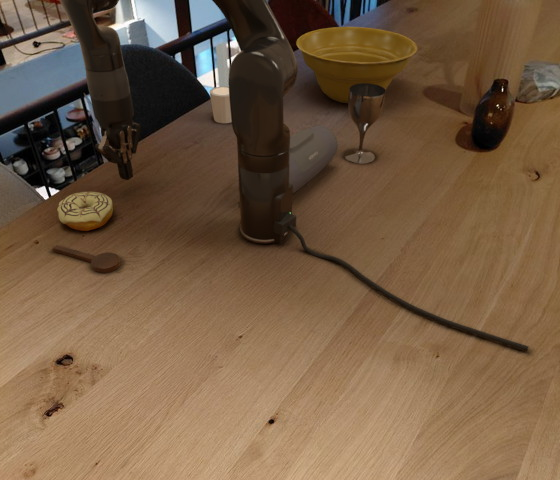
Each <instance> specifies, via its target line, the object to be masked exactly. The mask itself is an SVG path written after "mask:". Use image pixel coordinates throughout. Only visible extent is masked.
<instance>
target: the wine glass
mask: <svg viewBox="0 0 560 480" xmlns="http://www.w3.org/2000/svg"><path fill="white" fill-rule="evenodd" d="M386 92H387V91H386V89H384V88H383V87H381V86H379V85H376V84H369V83H361V84H355V85H353V86H351V87H350V88H349V97H348V103H347V104H348V113H349V117H350V119H351V120H352V122H353V123H354V125H355V126H356V128H357V131H358V133H359V142H358V143H359V145H358V149H351V150H348V151H347V152H345V153H344V158H345V159H346V160H347V161H349V162H351V163H354V164H369V163H372V162H373V161H375V158H376V157H375V154H373V152H372V151H368V150H364V149H363V145H364V140H365V136H366V134H367V131H368V130H369V128H370V127H372V125H374V124H375V123H376V122H377V120H378V119H379V118H380V116H381V114H382V110H383V108H384V105H385V99H386Z"/></svg>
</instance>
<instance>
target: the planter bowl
mask: <svg viewBox="0 0 560 480" xmlns="http://www.w3.org/2000/svg"><path fill="white" fill-rule="evenodd" d="M295 44H296V47H297V48H298V50H300V51H301V55H302V59H303V61H304V64H306V66H307V67H308V68H309V69H311V71H313V74H314V76H315V78H316V81H317V83H318V85H319V88H320V90H321V91H322V92H323V94H325V95H326V96H327V97H328V98H330V99H331V100H333V101H336V102H339V103H345V104H348V97H349V88H350V87H351V86H353V85H355V84H361V83H369V84H376V85H379V86H381V87H383V88H384V89H385V90H386V89H388V87H389V85H390V84H391V82H392V80H393V79H394V77H395V76H396V75H398V74H399V73H402V71H403V70H405V68H406V67H407V66H408V64H409V62H410V60H411V58H412V56H414V55H415V54H416V52H417V51H418V45H417V43H416V42H415V41H413V40H412V39H410V38H409V37H408V36H405V35H403V34H400V33H398V32H393V31H390V30H386V29H381V28H373V27H361V26H336V27H335V26H334V27H326V28H319V29H316V30H312V31H308V32H306V33H304V34H302V35H300V36H299V37H298V38H297V40H296V42H295Z"/></svg>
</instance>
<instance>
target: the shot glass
mask: <svg viewBox="0 0 560 480" xmlns="http://www.w3.org/2000/svg"><path fill="white" fill-rule="evenodd" d="M209 98H210V103H211V109H212V116H213V121H214V122H216V123H218V124H232V120H231V109H230V98H229V86H216V87H213V88H211V89H210V90H209Z"/></svg>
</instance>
